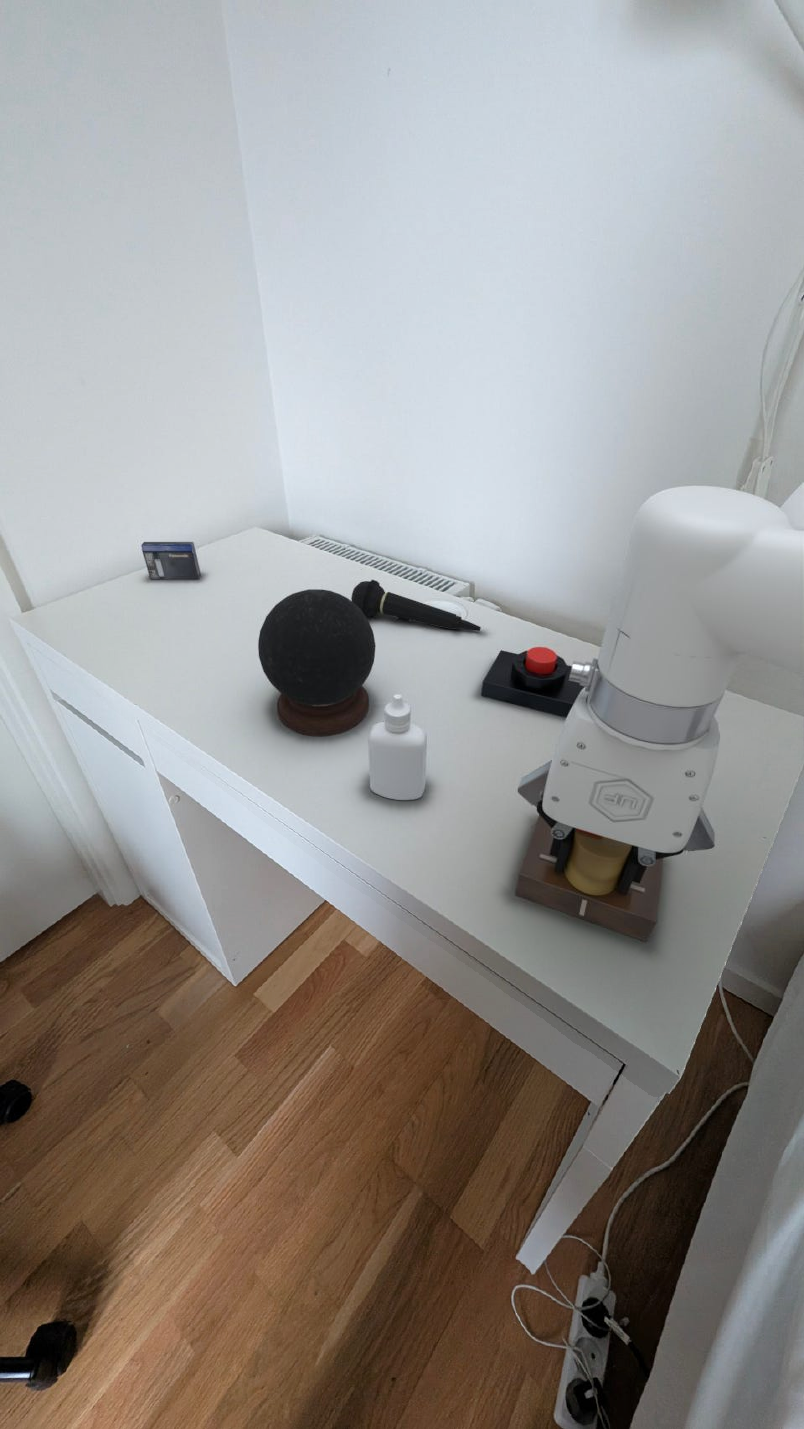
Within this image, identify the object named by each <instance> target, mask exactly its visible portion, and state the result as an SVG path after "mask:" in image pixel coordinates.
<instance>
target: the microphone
mask: <svg viewBox="0 0 804 1429" xmlns="http://www.w3.org/2000/svg"><path fill="white" fill-rule="evenodd" d="M380 584H381V583H380V582H379V581H378V580H375V579H371V580H364V581H360V582H359V583H358V584H357V585H355V586H354V588H353V590H352V592H351V597H350V598H351V599H350V600H351V601H352V602H353V603H354V604H355V605H356V606H358V607H359V608H360V609H361V611H362V612H363V613H364V615H365V616H366V618H369V619H370V618H371V617H373V616H376V615H378V614H380V613H381V614H382V615H385V616H390V617H394V618H397V619H398V620H399V621H403V622H410V621H413V622H417V623H422V624H426V625H431V626H435V627H439V628H445V629H449V630H453V629H454V630H459V629H461V630H466V631H467V630H468V631H473V632H474V631H477V632H480V631H481V629H482V627H481V626H479V625H477V624H475V623H473V622H470V621H468V620H465V619H463V618H462V616H458V615H457V614H456V613H453V612H450V611H447V610H444V609H441V608H438V607H435V606H432V605H429V604H427V603H423V602H419V601H417V600H415V599H412V598H408V597H405V596H403V595H399V594H396V593H393V592H390V591H387V592H386V591H385V589H384V588H383V587H382V586H381V585H380Z"/></svg>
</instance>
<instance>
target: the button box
mask: <svg viewBox="0 0 804 1429" xmlns="http://www.w3.org/2000/svg"><path fill="white" fill-rule="evenodd" d="M527 652H528V650H524V651H522V652H520V653H516V652H510V651H506V650H502V649H501V650H500V651H499V653H498V654H497V655H496V657H495V660H494V661H493V663H492V664H491V667H490V668H489V670H488V672H487V674H486V675H485V677H484V679H483V680H482V685H481V692H480V693H481V697H485V698H490V699H493V700H497V701H501V702H505V703H509V704H513V705H517V706H520V707H525V708H528V709H533V710H536V711H540V712H544V713H547V714H552V715H556V716H558V717H559V716H560V717H564V718H567V716H568V714H569V712H570V710H571V708H572V706H573V704H574V702H575V700H576V699H577V697H578V695H579V693H580V692H581V690H582V689H583V688H584V687H586V686H581V685H580V683H578V682H573V681H569V677H570V673H571V669H572V665H569V664H567V663H566V661H565V659H564V658H563V657H561V656H560V655H558V654H556V655H557V659H556V664H555V669H554V671H553V672H552V673H550V674H539V673H534V672H531V671H530V670H528V669H527V668H526V666H525V662H526V656H527Z"/></svg>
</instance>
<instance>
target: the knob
mask: <svg viewBox="0 0 804 1429" xmlns="http://www.w3.org/2000/svg"><path fill="white" fill-rule="evenodd" d="M631 849H632V845H631V844H627V843H624V842H620V841H617V840H613V839H610V838H607V837H603V836H600V835H597V834H594V833H590V832H587V831H584V830H581V829H577V828H575V830H574V834H573V838H572V842H571V846H570V850H569V853H568V856H567V860H566V863H565V867H564V871H565V875H566V877H567V879H568V880H569V882H570V883H571V884H572V885H573V886H574V887H575V888H577V889H578V890H580V891H582V892H584V893H586V894H590V895H605V894H608V893H610V892H611V891H613V890H614V889H615V888H616V886H617V884H618V881H619V879H620V876H621V874H622V871H623V869H624V866H625V864H626V861H627V859H628V856H629V854H630V851H631Z"/></svg>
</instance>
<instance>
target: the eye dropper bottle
mask: <svg viewBox="0 0 804 1429" xmlns="http://www.w3.org/2000/svg"><path fill="white" fill-rule="evenodd" d="M411 708H412V707H411V706H410V704H408V703H407V702H405V701H403V697H402V695H401V694H394V695H393V698H392V701H390V702H388V703H387V704H386V705H385V706H384V721H380V722H377V723H375V724H373V725H372V727H371V728H370V731H369V734H368V740H367V741H368V744H367V745H368V767H369V771H368V772H369V787H370V790H371V791H372V792H373V793H374V794H376V795H378V796H380V797H384V798H387V799H389V800H390V799H391V800H396V801H413V800H418V799H421V798H422V796H423V794H424V792H425V787H426V780H427V779H426V776H427V753H428V752H427V750H428V749H427V748H428V736H427V732H426V731H425V730H424V729H423V728H421V727H420V726H418V725H416V724H414V723H412V722H411V719H412V718H411V715H412V710H411Z"/></svg>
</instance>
